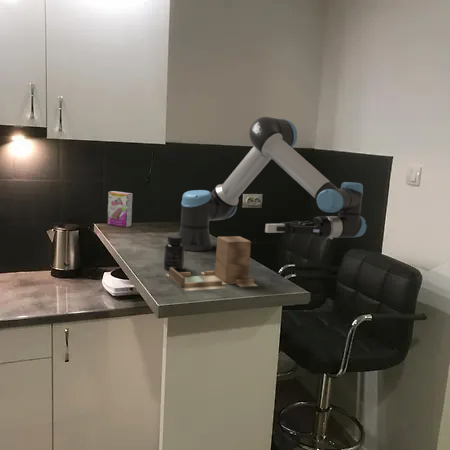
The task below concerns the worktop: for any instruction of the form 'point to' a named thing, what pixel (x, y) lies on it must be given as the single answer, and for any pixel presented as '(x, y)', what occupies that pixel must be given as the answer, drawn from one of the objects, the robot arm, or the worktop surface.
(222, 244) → the walnut block
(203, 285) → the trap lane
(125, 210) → the candy bar box
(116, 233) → the worktop surface
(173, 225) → the worktop surface
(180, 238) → the supplement bottle
